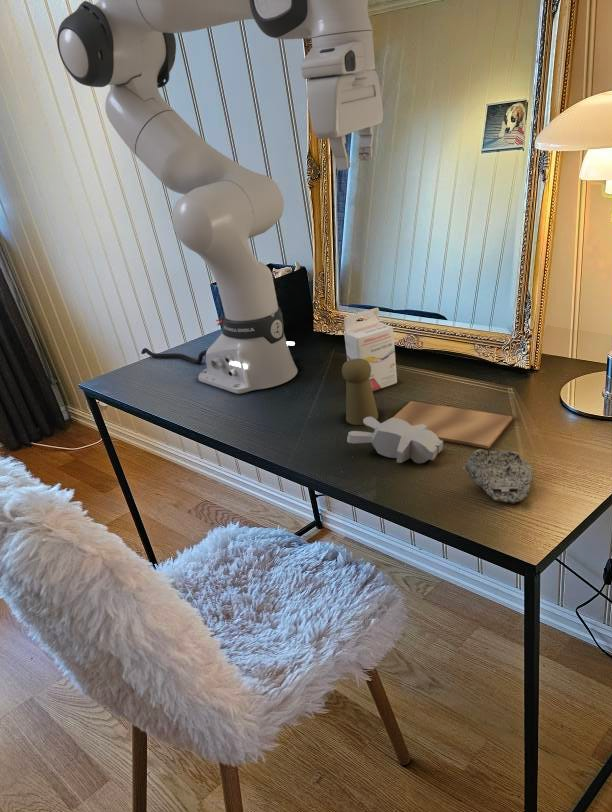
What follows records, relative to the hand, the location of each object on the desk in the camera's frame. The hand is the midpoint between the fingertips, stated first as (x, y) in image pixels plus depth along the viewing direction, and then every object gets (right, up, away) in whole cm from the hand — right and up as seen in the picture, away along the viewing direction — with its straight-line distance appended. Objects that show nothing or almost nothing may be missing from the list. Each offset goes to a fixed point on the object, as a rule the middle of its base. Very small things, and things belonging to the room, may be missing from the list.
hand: (355, 164), depth 103 cm
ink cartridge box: (+3, -30, +29) cm, 42 cm away
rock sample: (+23, -51, -7) cm, 57 cm away
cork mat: (+16, -40, +12) cm, 44 cm away
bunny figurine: (+7, -45, +6) cm, 46 cm away
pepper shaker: (+1, -38, +18) cm, 42 cm away
